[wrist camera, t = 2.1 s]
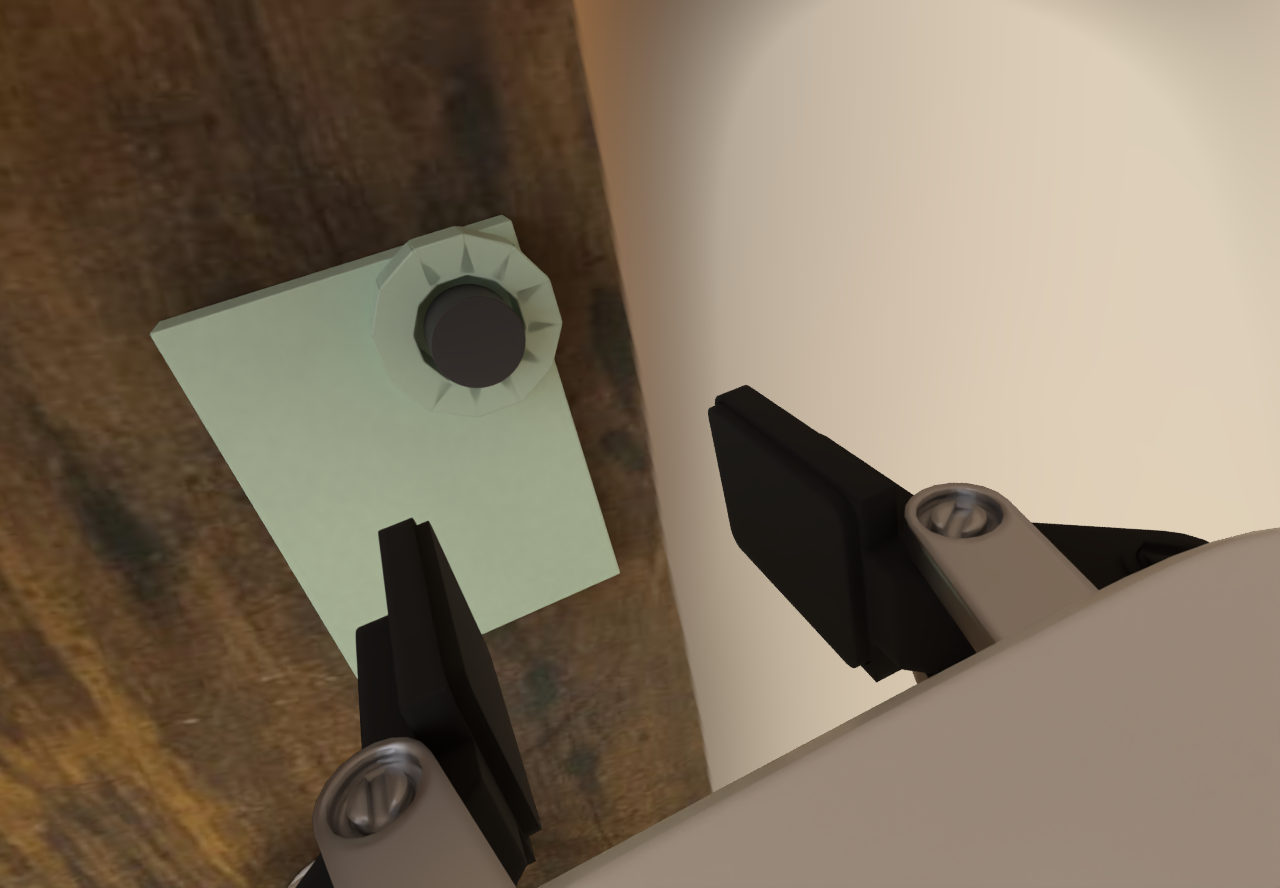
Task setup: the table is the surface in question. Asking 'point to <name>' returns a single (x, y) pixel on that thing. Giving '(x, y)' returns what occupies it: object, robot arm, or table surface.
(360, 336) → the green dial base
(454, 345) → the tare button
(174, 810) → the table surface
